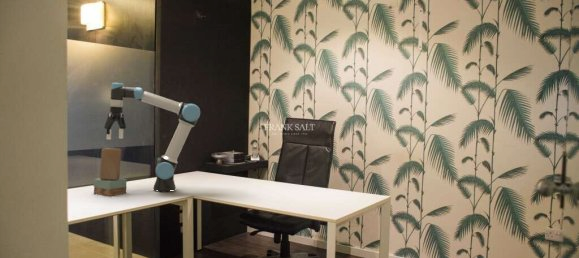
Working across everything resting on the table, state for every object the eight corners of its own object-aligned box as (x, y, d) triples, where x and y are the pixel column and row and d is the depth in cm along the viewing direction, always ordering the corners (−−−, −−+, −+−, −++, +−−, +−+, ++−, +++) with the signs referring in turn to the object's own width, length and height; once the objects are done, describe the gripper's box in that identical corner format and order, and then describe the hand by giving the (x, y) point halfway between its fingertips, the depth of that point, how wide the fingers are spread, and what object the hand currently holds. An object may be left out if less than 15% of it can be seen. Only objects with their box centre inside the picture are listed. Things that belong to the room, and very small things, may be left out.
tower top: (126, 186, 284) (126, 179, 284) (109, 189, 271) (109, 181, 271) (110, 184, 290) (111, 176, 290) (93, 186, 277) (93, 179, 277)
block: (115, 180, 275) (117, 149, 275) (99, 179, 274) (101, 148, 274) (119, 178, 285) (121, 148, 285) (103, 177, 284) (105, 147, 284)
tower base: (126, 193, 286) (126, 186, 286) (112, 197, 272) (113, 189, 272) (107, 191, 289) (108, 184, 289) (93, 194, 276) (94, 187, 276)
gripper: (122, 106, 294) (120, 137, 294) (99, 105, 269) (97, 139, 270) (132, 107, 292) (130, 138, 293) (110, 106, 268) (108, 140, 268)
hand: (114, 139), depth 281 cm, fingers open, 13 cm apart
